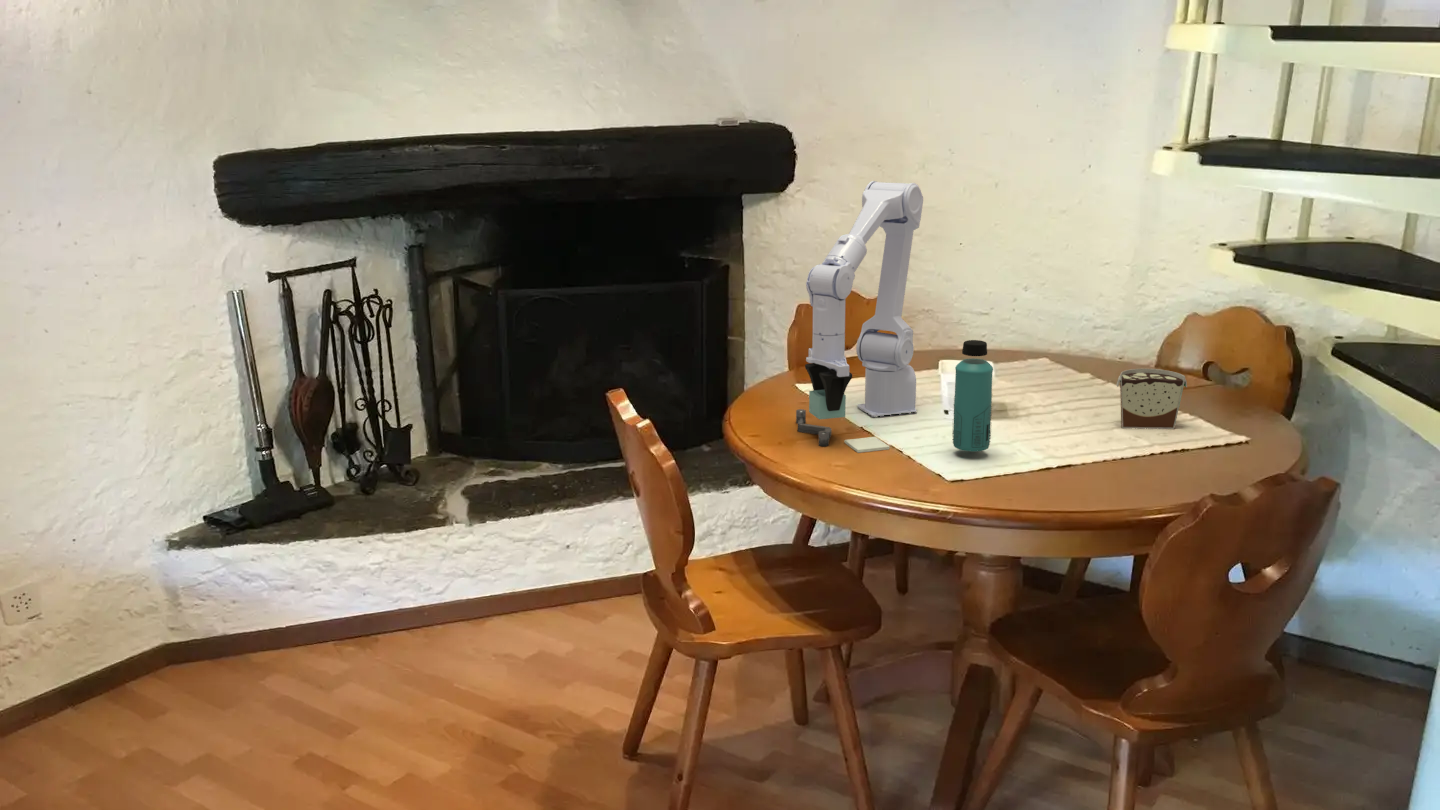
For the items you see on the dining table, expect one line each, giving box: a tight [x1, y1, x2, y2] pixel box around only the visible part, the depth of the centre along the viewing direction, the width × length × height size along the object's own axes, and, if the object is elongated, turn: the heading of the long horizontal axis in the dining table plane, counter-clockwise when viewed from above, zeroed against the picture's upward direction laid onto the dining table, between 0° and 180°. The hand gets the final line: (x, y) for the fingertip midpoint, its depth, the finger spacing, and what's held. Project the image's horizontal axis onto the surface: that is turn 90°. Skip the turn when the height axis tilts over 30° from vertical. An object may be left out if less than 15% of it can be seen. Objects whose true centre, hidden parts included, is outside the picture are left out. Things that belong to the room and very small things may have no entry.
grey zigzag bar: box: [795, 408, 832, 448], centre depth 205 cm, size 5×16×2 cm, turn 17°
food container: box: [1116, 368, 1188, 430], centre depth 206 cm, size 12×6×10 cm, turn 84°
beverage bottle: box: [951, 339, 994, 452], centre depth 190 cm, size 6×7×20 cm
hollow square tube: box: [808, 390, 847, 420], centre depth 201 cm, size 5×5×4 cm
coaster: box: [843, 436, 890, 454], centre depth 197 cm, size 6×6×1 cm
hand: (827, 406), depth 201 cm, fingers closed on hollow square tube, 5 cm apart
